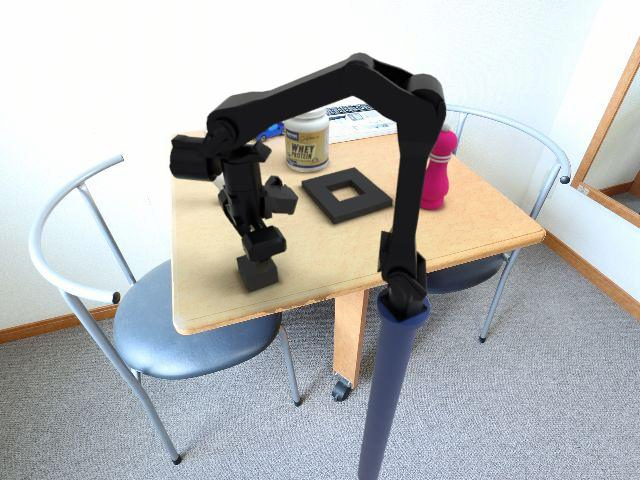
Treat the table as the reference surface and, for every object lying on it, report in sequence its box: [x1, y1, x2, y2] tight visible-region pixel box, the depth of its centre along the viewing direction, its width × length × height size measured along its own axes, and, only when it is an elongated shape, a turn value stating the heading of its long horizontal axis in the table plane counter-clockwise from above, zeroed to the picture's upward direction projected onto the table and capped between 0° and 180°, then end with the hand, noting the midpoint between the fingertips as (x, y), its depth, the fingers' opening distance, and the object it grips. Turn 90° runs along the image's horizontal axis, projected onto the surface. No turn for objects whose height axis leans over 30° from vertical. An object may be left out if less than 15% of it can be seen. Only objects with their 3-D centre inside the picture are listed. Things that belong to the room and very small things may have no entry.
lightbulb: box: [212, 173, 225, 193], centre depth 87 cm, size 6×6×11 cm
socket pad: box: [300, 166, 394, 225], centre depth 92 cm, size 18×16×2 cm
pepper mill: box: [420, 122, 459, 211], centre depth 84 cm, size 7×7×20 cm
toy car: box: [254, 121, 285, 143], centre depth 119 cm, size 7×12×5 cm, turn 127°
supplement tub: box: [283, 106, 330, 173], centre depth 101 cm, size 12×12×17 cm
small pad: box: [235, 254, 280, 293], centre depth 70 cm, size 6×6×4 cm
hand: (255, 255), depth 67 cm, fingers open, 9 cm apart
